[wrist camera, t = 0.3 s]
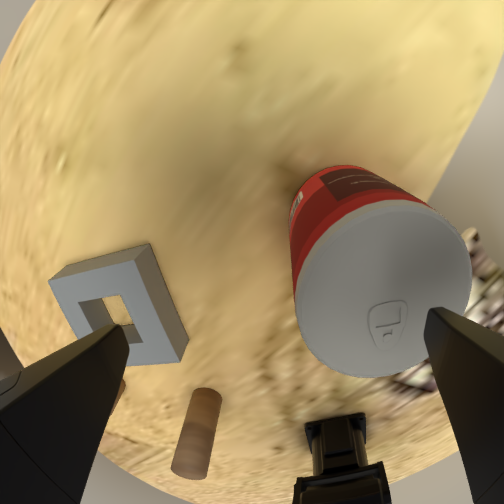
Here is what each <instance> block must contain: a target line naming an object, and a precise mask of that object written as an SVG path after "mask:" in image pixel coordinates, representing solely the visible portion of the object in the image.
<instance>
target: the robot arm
mask: <svg viewBox="0 0 504 504" xmlns="http://www.w3.org/2000/svg"><path fill="white" fill-rule="evenodd" d="M423 337H424V342H425V345H426V348H427V352H428V355H429V359H430V363H431V366H432V370H433V374H434V377H435V381H436V384H437V386H438V389H439V392H440V395H441V397H442V400H443V403H444V405H445V408H446V411H447V414H448V417H449V420H450V423H451V426H452V429H453V432H454V435H455V438H456V441H457V444H458V447H459V451H460V454H461V457H462V461H463V464H464V467H465V471H466V475H467V479H468V483H469V486H470V490H471V495H472V499H473V503H474V504H504V336H502V335H500V334H498V333H496V332H494V331H492V330H490V329H488V328H486V327H484V326H482V325H480V324H478V323H475V322H473V321H471V320H469V319H467V318H465V317H463V316H461V315H459V314H457V313H455V312H453V311H451V310H448V309H446V308H444V307H441V306H440V307H433V308H430V309H429V310H428V313H427V318H426V323H425V327H424V333H423ZM129 352H130V348H129V344H128V341H127V339H126V336H125V333H124V330H123V328H122V326H121V325H119V324H107V325H105V326H103V327H101V328H99V329H98V330H96V331H94V332H92V333H90V334H88V335H86V336H84V337H82V338H81V339H79V340H77V341H75V342H73V343H71V344H69V345H67V346H65V347H64V348H62V349H60V350H58V351H56V352H54V353H52V354H50V355H48V356H47V357H45V358H43V359H41V360H39V361H37V362H35V363H33V364H31V365H30V366H28V367H26V368H24V369H22V371H21V370H20V371H18V372H16V373H15V374H13V375H11V376H9V377H7V378H5V379H3V380H1V381H0V504H80V502H81V499H82V496H83V492H84V489H85V486H86V483H87V480H88V476H89V473H90V470H91V467H92V464H93V461H94V458H95V456H96V453H97V450H98V447H99V444H100V441H101V438H102V436H103V433H104V430H105V427H106V425H107V422H108V419H109V416H110V414H111V411H112V409H113V406H114V403H115V401H116V398H117V395H118V392H119V389H120V385H121V382H122V378H123V374H124V371H125V367H126V364H127V360H128V357H129ZM305 432H306V436H307V439H308V443H309V447H310V451H311V454H312V457H313V476H310V477H297V481H296V484H295V485H294V496H293V502H292V504H392V503H391V495H390V490H389V485H388V481H387V477H386V473H385V469H384V465H383V461H380V462H377V463H375V464H371V465H368V460H367V454H366V449H365V444H366V417H365V414H363V413H361V414H356V415H351V416H346V417H341V418H336V419H330V420H325V421H319V422H313V423H307V424H305Z"/></svg>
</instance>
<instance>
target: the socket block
mask: <svg viewBox="0 0 504 504" xmlns="http://www.w3.org/2000/svg"><path fill="white" fill-rule="evenodd" d="M48 283H49V285H50V287H51V289H52V291H53V294H54V296H55V298H56V300H57V302H58V304H59V306H60V308H61V309H62V311H63V313H64V315H65V317H66V319H67V321H68V323H69V324H70V326H71V328H72V330H73V332H74V334H75V335H76V337H77V339H78V340H79V339H81V338H82V337H84V336H86V335H88V334H90V333H92V332H94V331H96V330H98V329H99V328H101V327H103V326H105V325H107V324H114V323H113V321H112V319H111V317H110V315H109V313H108V311H107V309H106V307H105V305H104V303H103V301H102V299H101V298H104V297H109V296H115V295H121V298H122V300H123V302H124V304H125V306H126V308H127V310H128V313H129V315H130V317H131V319H132V321H133V323H134V324H132V325H124V326H122V328H123V330H124V333H125V336H126V339H127V341H128V344H129V348H130V352H129V357H128V360H127V364H126V366H139V365H154V364H168V363H179V362H181V359H182V357H183V354H184V351H185V349H186V346H187V344H188V341H189V338H188V336H187V334H186V332H185V329H184V327H183V325H182V323H181V320H180V318H179V316H178V313H177V311H176V309H175V306H174V304H173V301H172V299H171V297H170V294H169V292H168V289H167V287H166V284H165V282H164V279H163V277H162V274H161V272H160V269H159V267H158V264H157V262H156V259H155V256H154V254H153V251H152V248H151V246H150V244H146V245H143V246H139V247H135V248H131V249H127V250H123V251H119V252H116V253H112V254H108V255H104V256H101V257H97V258H93V259H89V260H86V261H82V262H78V263H75V264H71V265H68V266H66V267H64V268H63V269H62V270H61V271H59V272H58V273H57V274H56V275H54V276H53V277H52V278H51V279H50V280H48Z"/></svg>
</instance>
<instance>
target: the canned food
mask: <svg viewBox="0 0 504 504" xmlns="http://www.w3.org/2000/svg"><path fill="white" fill-rule="evenodd" d="M289 236H290V249H291V263H292V277H293V292H294V302H295V313H296V317H297V321H298V324H299V328H300V332H301V335H302V338H303V339H304V341H305V343H306V345H307V347H308V349H309V350H310V351H311V352H312V353H313V355H314V356H315V357H316V358H317V359H318V360H319V361H320V362H322V363H323V364H325V365H326V366H327V367H329V368H330V369H332V370H335V371H337V372H339V373H342V374H345V375H349V376H354V377H362V378H375V377H383V376H389V375H392V374H396V373H399V372H402V371H405V370H407V369H409V368H411V367H413V366H415V365H417V364H419V363H420V362H422V361H423V360H425V359H426V358H428V357H429V355H428V352H427V348H426V345H425V342H424V337H423V333H424V327H425V323H426V318H427V313H428V310H429V309H430V308H433V307H440V306H441V307H444V308H446V309H448V310H451V311H453V312H455V313H457V314H459V315H461V316H463V314H464V311H465V309H466V307H467V304H468V300H469V296H470V292H471V286H472V267H471V261H470V255H469V252H468V250H467V247H466V245H465V242H464V240H463V239H462V237H461V236H460V234H459V233H458V231H457V230H456V228H455V227H454V226H452V225H451V223H450V222H449V221H448V220H447V219H445V218H444V217H443V216H442V215H441V214H440V213H439V212H437V211H436V210H435V209H433V208H431V207H430V206H428V205H427V204H426V203H425V202H423V201H421V200H420V199H418V198H416V197H415V196H413V195H411V194H409V193H408V192H406V191H404V190H403V189H401V188H399V187H397V186H396V185H394V184H392V183H390V182H389V181H387V180H385V179H383V178H381V177H379V176H378V175H376V174H374V173H372V172H370V171H368V170H365V169H363V168H361V167H356V166H351V165H340V166H334V167H330V168H326V169H324V170H322V171H320V172H318V173H316V174H315V175H314V176H312V177H311V178H310V179H308V180H307V181H306V182H305V184H304V185H303V186H302V187H301V188H300V189H299V191H298V193H297V195H296V196H295V198H294V200H293V203H292V206H291V209H290V214H289Z"/></svg>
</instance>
